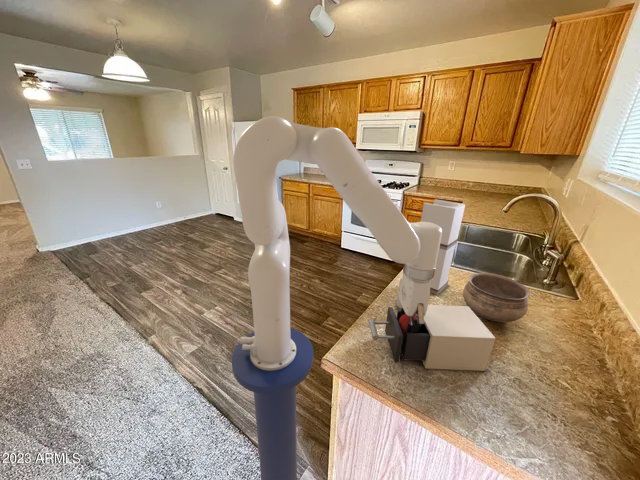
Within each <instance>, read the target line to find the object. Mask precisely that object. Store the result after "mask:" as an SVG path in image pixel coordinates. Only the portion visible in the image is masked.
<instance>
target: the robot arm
mask: <svg viewBox="0 0 640 480" xmlns="http://www.w3.org/2000/svg"><path fill="white" fill-rule="evenodd" d="M284 160H287V161H292V162H298V163H303V164H310V165H316V166H317V167H318V168H319V170H320V171H321V172H322V173H323V175H324V176H325V178H326V179H327V180H328V181H329V183H330V184H331V186H332V187H333V188H334V190H335V191H336V192H337V193H338V195H339V197H340V198H341V199H342V200H343V202H344V203H345V204H346V205H347V207H348V208H349V209H350V211H351V212H352V214H354V215H355V216H356V217H357V218H358V220H360V222H362V224H363V225H364V226H365V227H366V228H367V230H368V231H369V232H370V233H371V235H372V236H373V237H374V238H375V241H376V242H377V244H378V245H379V247H381V249H382V250H383V251H384V253H385V254H386V255H387V257H388V258H389V259H390V260H391V261H393V262H394V263H397V264H400V265H401V264H403V268H402V276H401V278H402V280H401V284H400V283H399V284H400V289H399V288H398V290H399V295H398V294H397V297H399V300H400V303H401V305H402V308H401V309H400V310H401V313H400V317H401V316H402V315H404V314H407V315H408V316H410V319H409V323H408V325H407V331H406V336H407V333H419V330H420V326H421V325H422V324H424V316H425V315H426V312H427V308H428V305H429V302H430V294H431V292H430V284H431V282H430V281H432V280H433V277H434V272H435V267H436V262H437V257H438V253H439V248H440V243H441V238H442V229H441V227H440V226H438V225H436V224H433V223H429V222H421V221H416V222H410V221H408V220H407V218H406V217H405V216H404V214H403V213H402V212H401V210H400V209H399V207H397V205H396V204H395V203H394V201H393V200H392V199H391V197H390V196H389V195H388V193H387V191H386V190H385V188H384V187H383V185H382V184H380V182H379V181H378V179H377V178H376V176H375V175H374V174H373V172H372V171H371V169H370V168H369V166H368V165H367V163H366V162H365V160H364V159H363V157H362V156H361V155H360V153H359V151H358V150H357V149H356V146H355V145H354V144H353V142H352V141H351V139H350V138H349V137H348V135H347V134H346V133H345V132H344V131H342V130H341V129H340V128H337V127H334V126H331V127H325V128H324V127H317V126H311V125H306V124H300V123H296V122H290V121H288V120H287V119H285V118H283V117H281V116H277V115H268V116H264V117H262V118H260V119H258V120H256V121H255V122H253V123H252V124H251V125H249V126H248V127H247V128H246V129H245V130H244V132H242V134H241V135H240V137H239V139H238V140H237V142H236V145H235V149H234V152H233V171H234V177H235V178H234V179H235V182H236V189H237V197H238V202H239V203H238V204H239V207H240V214H241V220H242V227H243V231H244V233H245V236H246V237H247V238H248V240H250V241H251V242H252V243H254V251H253V253H252V256H251V257H250V260H249V264H248V269H247V278H248V284H249V289H250V296H251V307H252V316H253V317H252V319H253V330H254V331H253V332H254V333H255V336H253V337H246V336H241V337H240V340H239V343H240V344H243V346H242V350H251V351H250V358H251V361H252V363H253V364H254V365H255V366H256V367H257V368H259V369H262V370H266V371H274V370H279V369H282V368H284V367H286V366H288V365H289V364H290V363H291V362H292V361H293V360H294V358H295V356H296V345H295V343H294V341H293V340H292V339H291V336H290V328H291V289H290V288H291V287H290V278H291V277H290V276H291V274H290V273H291V243H290V237H289V236H290V235H289V229H288V220H287V212H286V209H285V206H284V205H283V202H281V201H280V199H279V192H278V182H277V175H276V173H277V171H276V170H277V167H278V165H279V163H280V162H282V161H284ZM416 311H417V313H415V312H416ZM413 316H417V320H413ZM246 344H251V345H246Z"/></svg>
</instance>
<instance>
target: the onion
mask: <svg viewBox="0 0 640 480" xmlns="http://www.w3.org/2000/svg"><path fill="white" fill-rule="evenodd" d="M409 319H410V316H408V315H407V314H404V315H402V316H401V317H400V319H399V322H398V323H399V326H400V328H401V331H402V333H403V334H404V335H405V336H406V331H407V325H408V323H409ZM413 320H417V317H416V316H413Z"/></svg>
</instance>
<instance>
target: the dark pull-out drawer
mask: <svg viewBox="0 0 640 480" xmlns="http://www.w3.org/2000/svg"><path fill="white" fill-rule="evenodd" d="M400 313H401V309H397V311H396V313H395V311H394V307H393V306H388V307H387V313H386V314H387V315H386V321H381V320H380V321H378V320H374V319H372V318H370V319H369V320H368V325H369V329H370V334H371V338H372V340H373V341H378V339H386V340H387V343H388V345H389V350H390V353H391V355H392V359H393V362H394V363H395V364H396V363H397V364H399V363H400V359H401V357H402V359H403V360H405V361H422V360H424V361H425V360H426V355H427V351H428V346H429V342H430V337H431V336H430V334H429V332H428V330H427V328H426V326H425V324H422V325H421V326H420V330H419V333H407V336H405V335H404V334H403V333H402V331H401V328H400V326H399V323H398V322H399V319H400ZM415 313H417V311H416V312H415ZM416 317H417V316H416ZM376 325H385V329H384V332H385V335H382V334H378V331H377V327H376Z"/></svg>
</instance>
